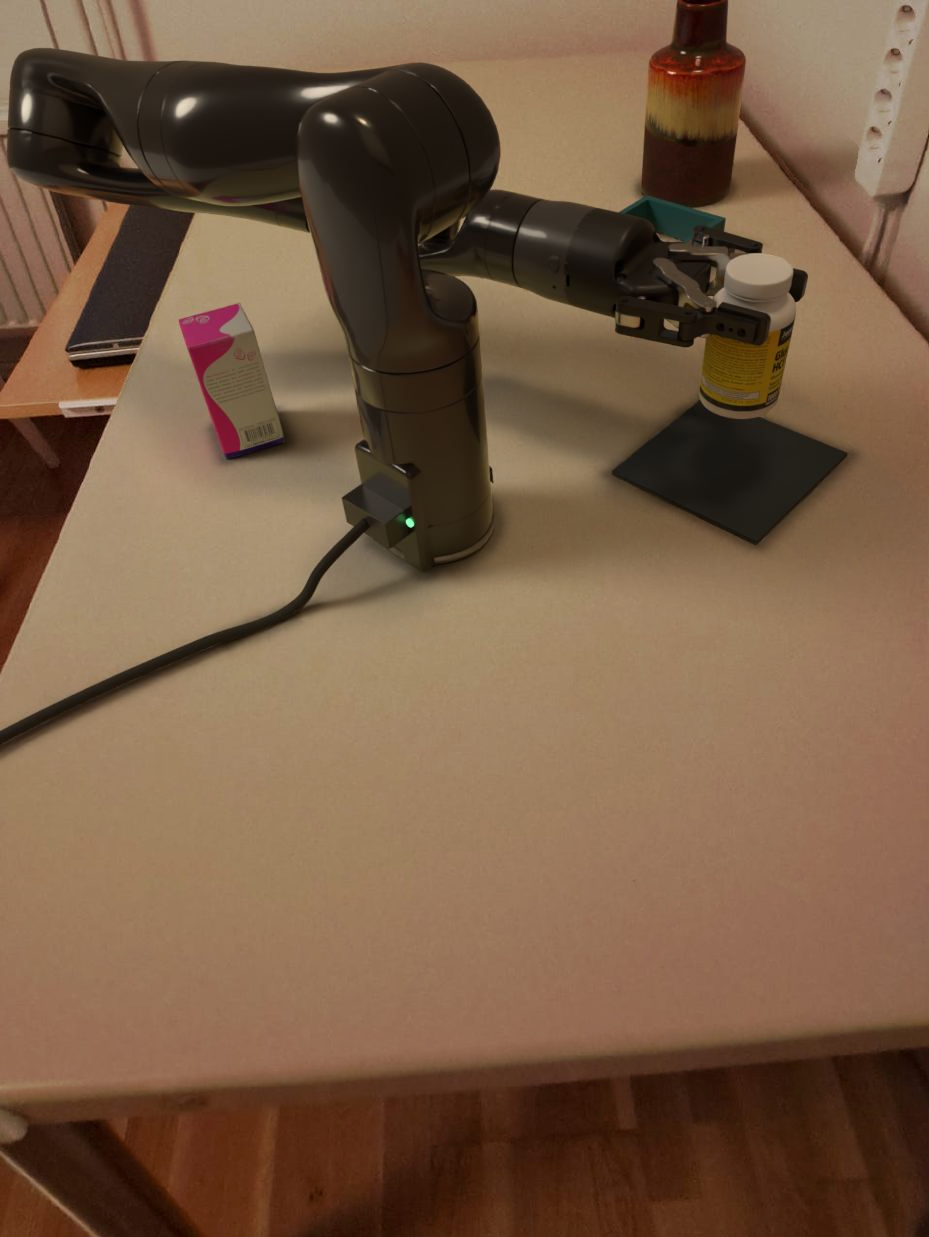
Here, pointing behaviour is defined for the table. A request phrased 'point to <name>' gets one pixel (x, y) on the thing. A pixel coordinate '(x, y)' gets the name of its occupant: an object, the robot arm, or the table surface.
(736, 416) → the pill bottle
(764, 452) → the mat
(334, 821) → the table surface
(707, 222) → the square frame
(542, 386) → the table surface
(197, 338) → the supplement box
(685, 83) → the vase
